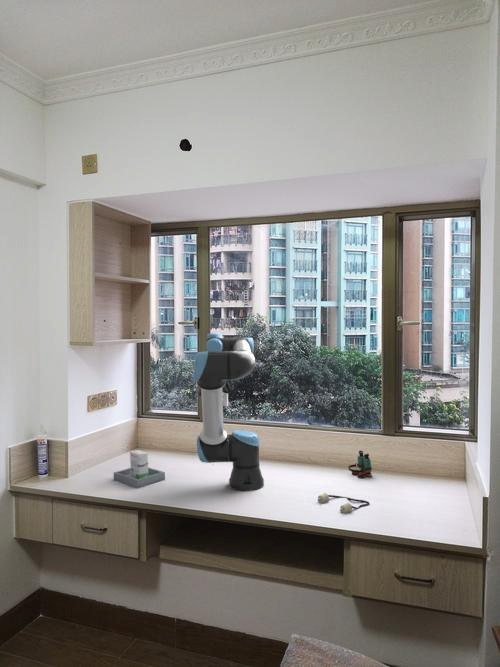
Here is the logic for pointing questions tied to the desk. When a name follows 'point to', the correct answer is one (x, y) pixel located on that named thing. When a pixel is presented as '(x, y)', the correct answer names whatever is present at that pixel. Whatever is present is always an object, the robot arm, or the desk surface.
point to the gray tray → (126, 478)
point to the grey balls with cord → (343, 508)
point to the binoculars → (362, 466)
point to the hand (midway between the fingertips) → (216, 408)
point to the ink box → (139, 464)
